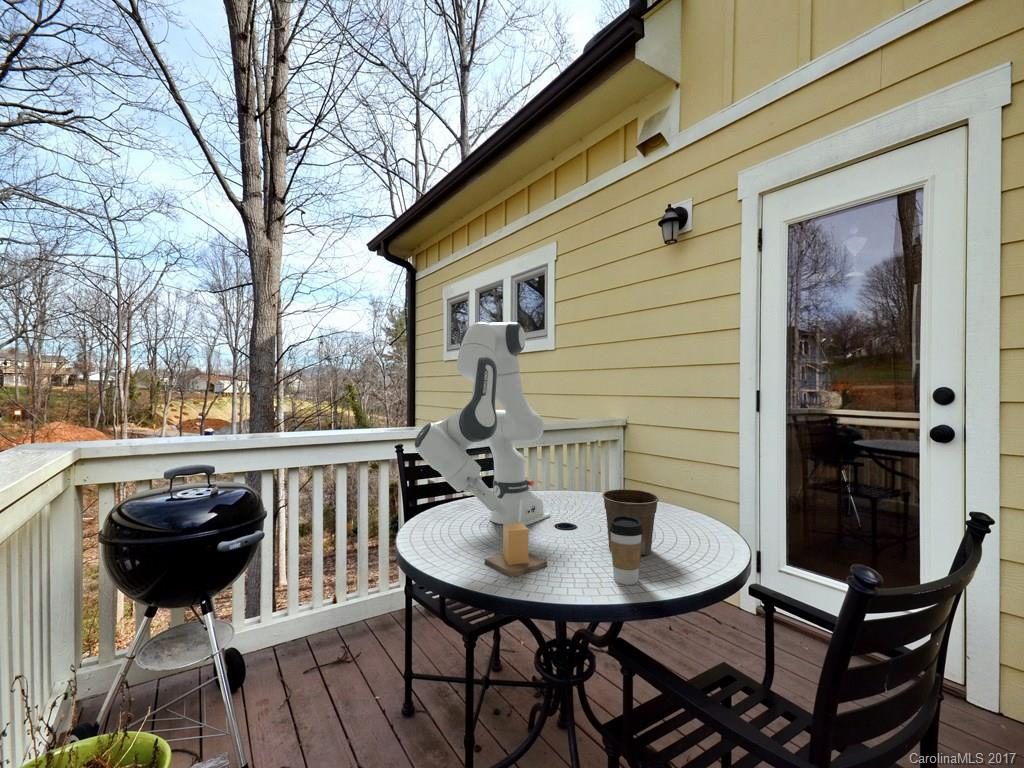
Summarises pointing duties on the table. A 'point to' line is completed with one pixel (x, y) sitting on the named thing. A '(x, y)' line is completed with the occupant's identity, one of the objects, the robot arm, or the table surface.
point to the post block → (515, 565)
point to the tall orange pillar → (515, 543)
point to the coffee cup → (626, 548)
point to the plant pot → (633, 511)
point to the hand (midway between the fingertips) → (500, 509)
